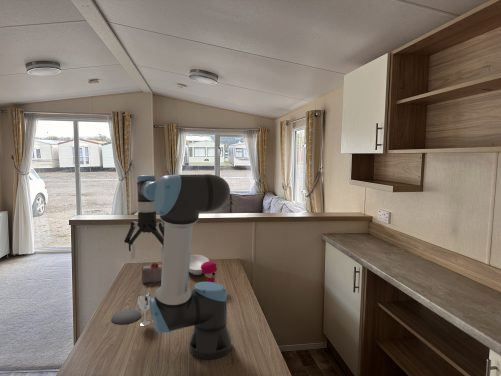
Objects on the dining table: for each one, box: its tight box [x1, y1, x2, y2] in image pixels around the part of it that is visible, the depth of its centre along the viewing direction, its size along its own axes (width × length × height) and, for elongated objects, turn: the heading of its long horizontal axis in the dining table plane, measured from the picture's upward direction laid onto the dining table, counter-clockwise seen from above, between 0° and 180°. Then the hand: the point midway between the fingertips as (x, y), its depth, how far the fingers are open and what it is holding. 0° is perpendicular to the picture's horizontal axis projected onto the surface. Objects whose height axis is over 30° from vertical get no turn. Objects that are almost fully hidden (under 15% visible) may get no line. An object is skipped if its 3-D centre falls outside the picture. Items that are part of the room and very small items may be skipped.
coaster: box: [111, 309, 142, 325], centre depth 143 cm, size 12×12×1 cm
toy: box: [201, 260, 218, 283], centre depth 173 cm, size 8×8×15 cm
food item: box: [141, 262, 162, 284], centre depth 186 cm, size 14×8×10 cm, turn 111°
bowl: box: [189, 254, 210, 276], centre depth 202 cm, size 30×15×6 cm, turn 13°
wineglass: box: [136, 292, 152, 327], centre depth 138 cm, size 6×6×12 cm
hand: (147, 259), depth 146 cm, fingers open, 13 cm apart
